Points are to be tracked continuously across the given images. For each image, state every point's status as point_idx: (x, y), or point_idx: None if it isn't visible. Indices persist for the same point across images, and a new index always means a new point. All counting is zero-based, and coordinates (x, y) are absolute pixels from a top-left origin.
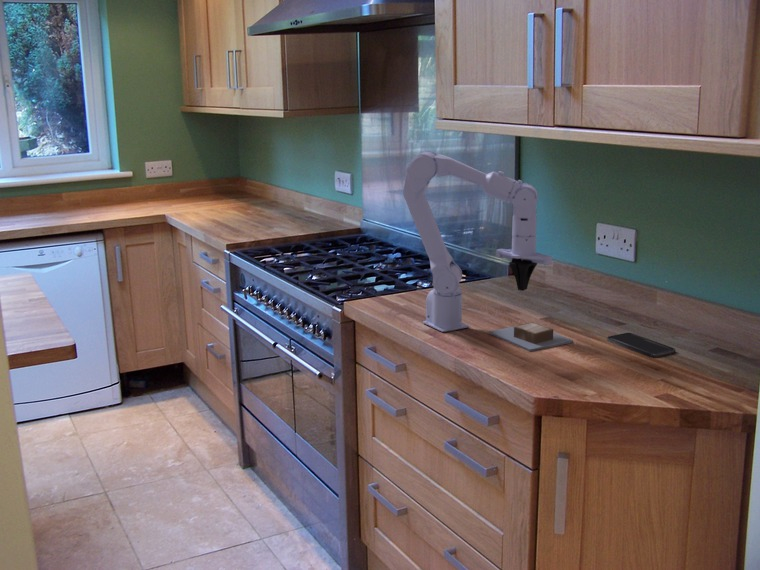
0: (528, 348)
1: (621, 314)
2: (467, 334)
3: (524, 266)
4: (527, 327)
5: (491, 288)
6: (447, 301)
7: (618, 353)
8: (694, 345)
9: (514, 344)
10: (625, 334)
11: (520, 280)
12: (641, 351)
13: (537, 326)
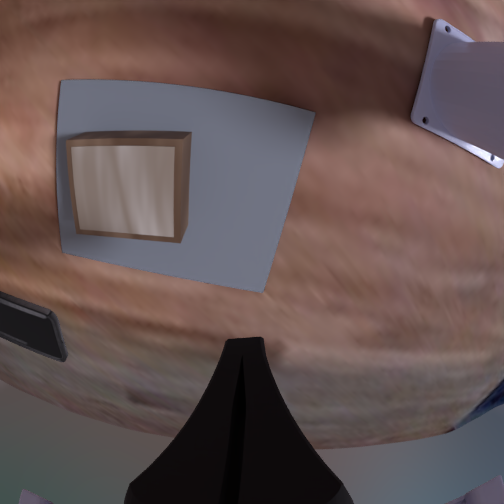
0: (69, 82)
1: None
2: (364, 50)
3: (132, 497)
4: (137, 175)
5: (466, 389)
6: None
7: None
8: (5, 360)
9: (141, 81)
10: (59, 351)
11: (229, 389)
12: None
13: (125, 216)
